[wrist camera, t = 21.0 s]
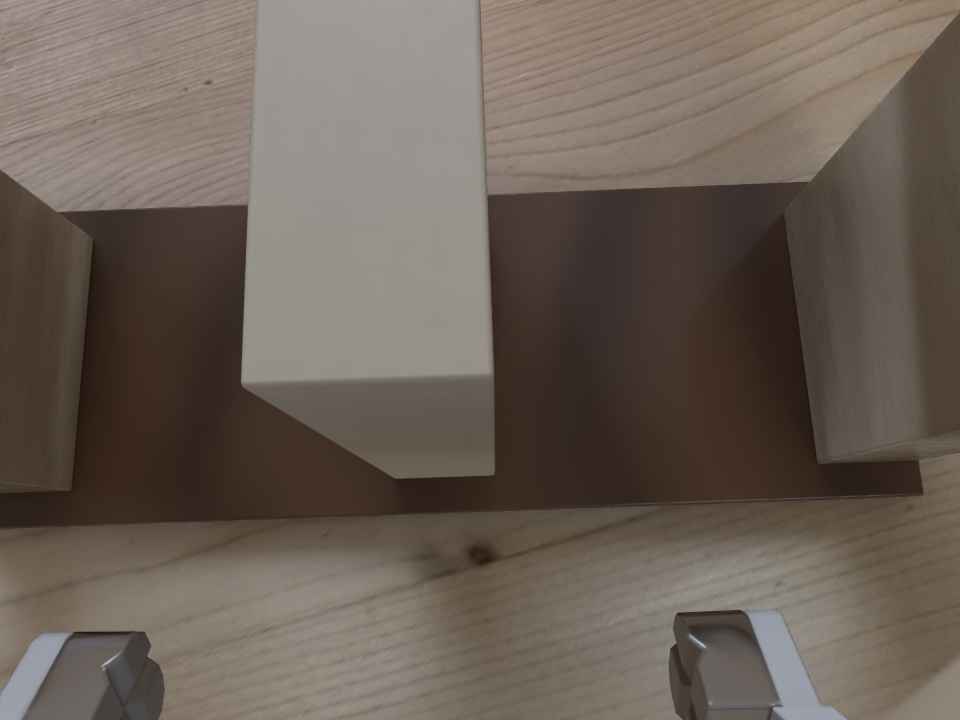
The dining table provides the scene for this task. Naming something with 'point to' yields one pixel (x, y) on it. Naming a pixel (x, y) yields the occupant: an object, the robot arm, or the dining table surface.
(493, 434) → the white book
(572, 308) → the wooden book rack
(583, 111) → the dining table surface
